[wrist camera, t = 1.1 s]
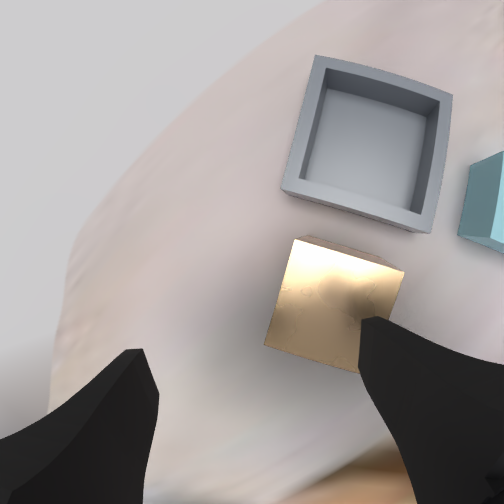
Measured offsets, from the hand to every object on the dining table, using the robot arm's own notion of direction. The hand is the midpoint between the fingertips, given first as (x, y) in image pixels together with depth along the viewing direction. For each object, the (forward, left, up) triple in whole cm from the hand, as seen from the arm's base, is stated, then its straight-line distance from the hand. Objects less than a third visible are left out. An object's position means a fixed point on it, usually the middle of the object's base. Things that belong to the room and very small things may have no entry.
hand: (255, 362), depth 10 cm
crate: (-2, -10, -11) cm, 15 cm away
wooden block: (-2, -1, -11) cm, 12 cm away
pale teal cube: (-12, -9, -11) cm, 19 cm away
